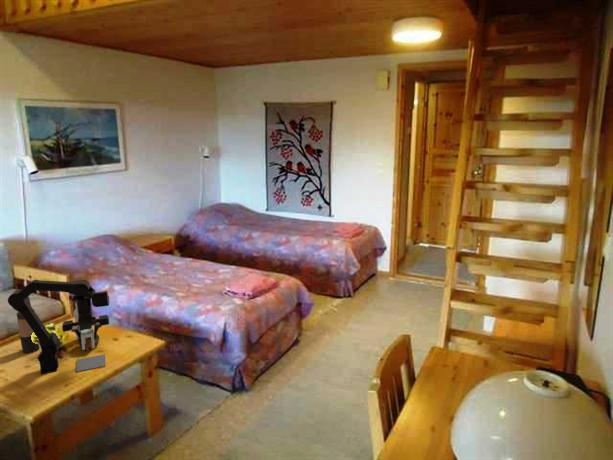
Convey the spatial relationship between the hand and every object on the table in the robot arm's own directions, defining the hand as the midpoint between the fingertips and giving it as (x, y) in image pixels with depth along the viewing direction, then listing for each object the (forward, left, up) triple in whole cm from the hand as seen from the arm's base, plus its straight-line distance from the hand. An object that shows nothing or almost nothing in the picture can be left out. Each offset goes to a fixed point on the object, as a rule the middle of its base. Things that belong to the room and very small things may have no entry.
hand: (88, 340), depth 203 cm
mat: (0, 0, -11) cm, 11 cm away
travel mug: (-27, +27, -12) cm, 40 cm away
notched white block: (0, 0, -3) cm, 3 cm away
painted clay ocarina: (-1, +18, -12) cm, 21 cm away
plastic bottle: (-4, +29, -12) cm, 31 cm away
